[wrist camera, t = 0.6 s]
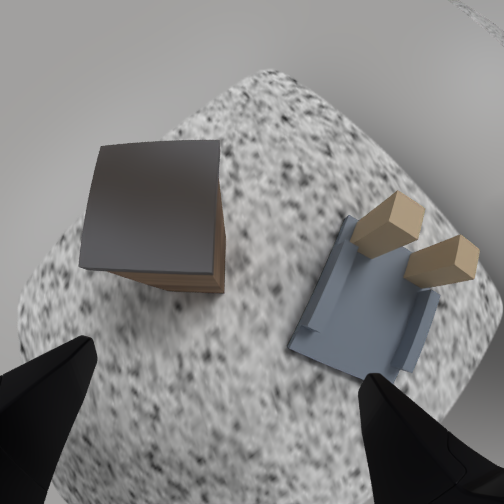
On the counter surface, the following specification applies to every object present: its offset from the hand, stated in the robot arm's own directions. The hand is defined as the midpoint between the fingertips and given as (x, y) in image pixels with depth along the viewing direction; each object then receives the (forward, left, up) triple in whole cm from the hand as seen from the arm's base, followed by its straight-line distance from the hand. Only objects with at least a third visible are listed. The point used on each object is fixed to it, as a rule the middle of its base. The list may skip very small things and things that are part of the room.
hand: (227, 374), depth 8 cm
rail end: (0, +6, -14) cm, 15 cm away
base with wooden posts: (+11, -4, -14) cm, 18 cm away
